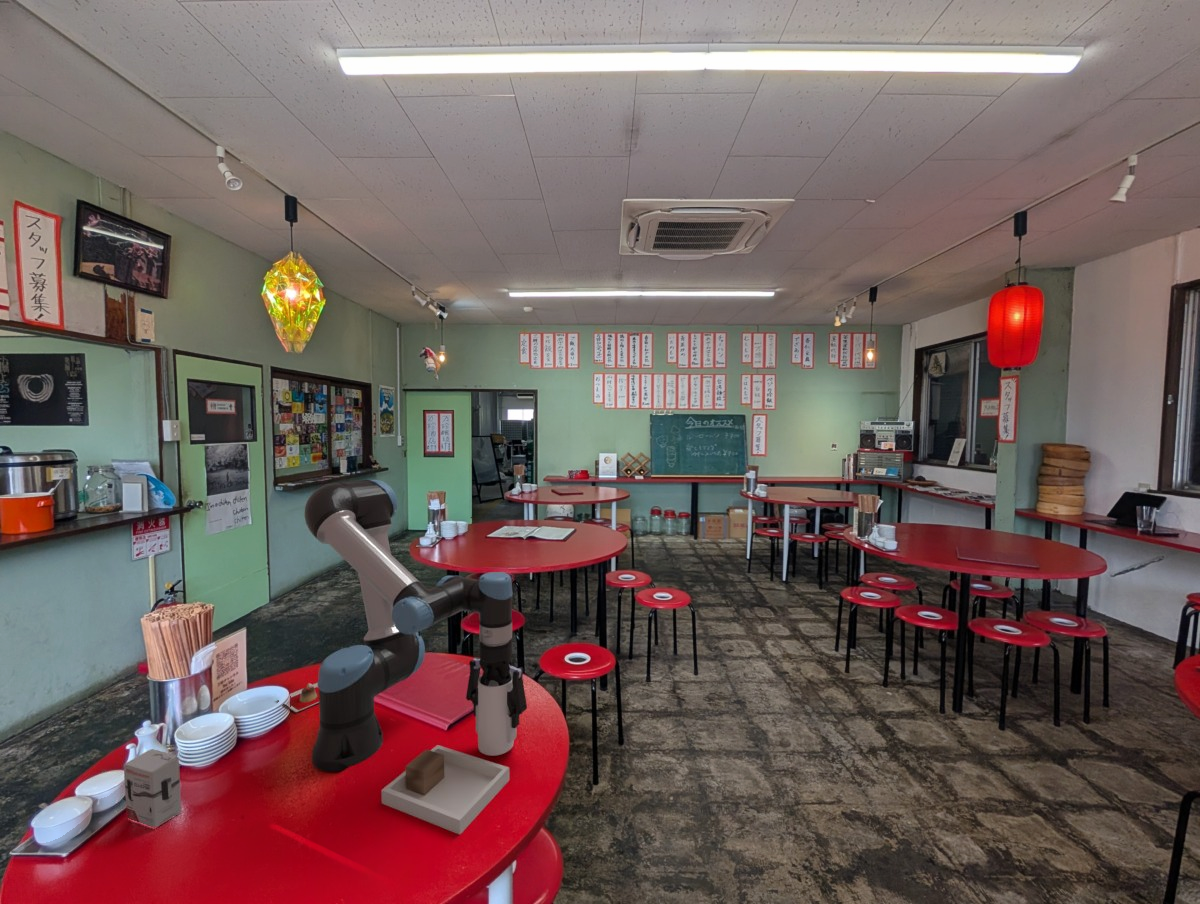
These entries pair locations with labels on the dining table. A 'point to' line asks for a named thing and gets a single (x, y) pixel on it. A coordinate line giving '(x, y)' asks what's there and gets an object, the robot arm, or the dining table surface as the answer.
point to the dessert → (306, 695)
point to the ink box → (152, 787)
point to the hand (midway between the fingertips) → (496, 734)
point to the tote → (451, 791)
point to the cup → (493, 718)
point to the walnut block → (424, 772)
